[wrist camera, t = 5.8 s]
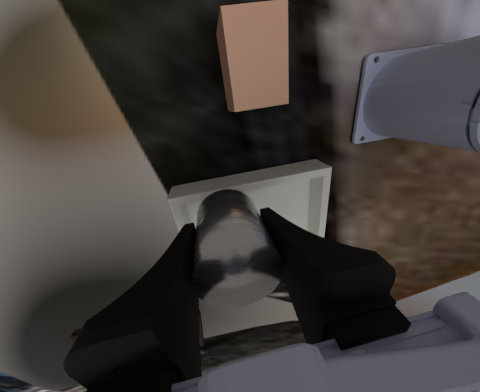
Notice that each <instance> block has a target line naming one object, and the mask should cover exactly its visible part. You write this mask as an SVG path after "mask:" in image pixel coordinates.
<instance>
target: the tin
mask: <svg viewBox="0 0 480 392" xmlns="http://www.w3.org/2000/svg"><path fill="white" fill-rule="evenodd" d="M283 272H284V265H283V261H282V259H281V257H280V255H279V253H278V251H277V249H276V247H275V245H274V243H273V241H272V239H271V237H270V235H269V233H268V231H267V229H266V227H265V225H264V223H263V221H262V219H261V217H260V215H259V213H258V211H257V209H256V207H255V205H254V203H253V201H252V199H251V198H250V197H249V196H248V195H246V194H245V193H243V192H241V191H238V190H234V189H224V190H219V191H216V192H214V193H212V194H210V195H209V196H207V197H206V198H205V199H204V200H203V201H202V203H201V204H200V206H199V208H198V211H197V221H196V235H195V249H194V263H193V277H192V285H193V289H194V291H195V293H196V294H197V296H198V297H199V298H200V299H201V300H203V301H204V302H206V303H208V304H210V305H213V306H217V307H223V308H234V307H241V306H245V305H249V304H252V303H254V302H257V301H259V300H261V299H262V298H264V297H266V296H267V295H268V294H270V293H271V292H272V291H273V290H274V289H275V288H276V287H277V285H278V284H279V282H280V281H281V278H282V276H283Z"/></svg>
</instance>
